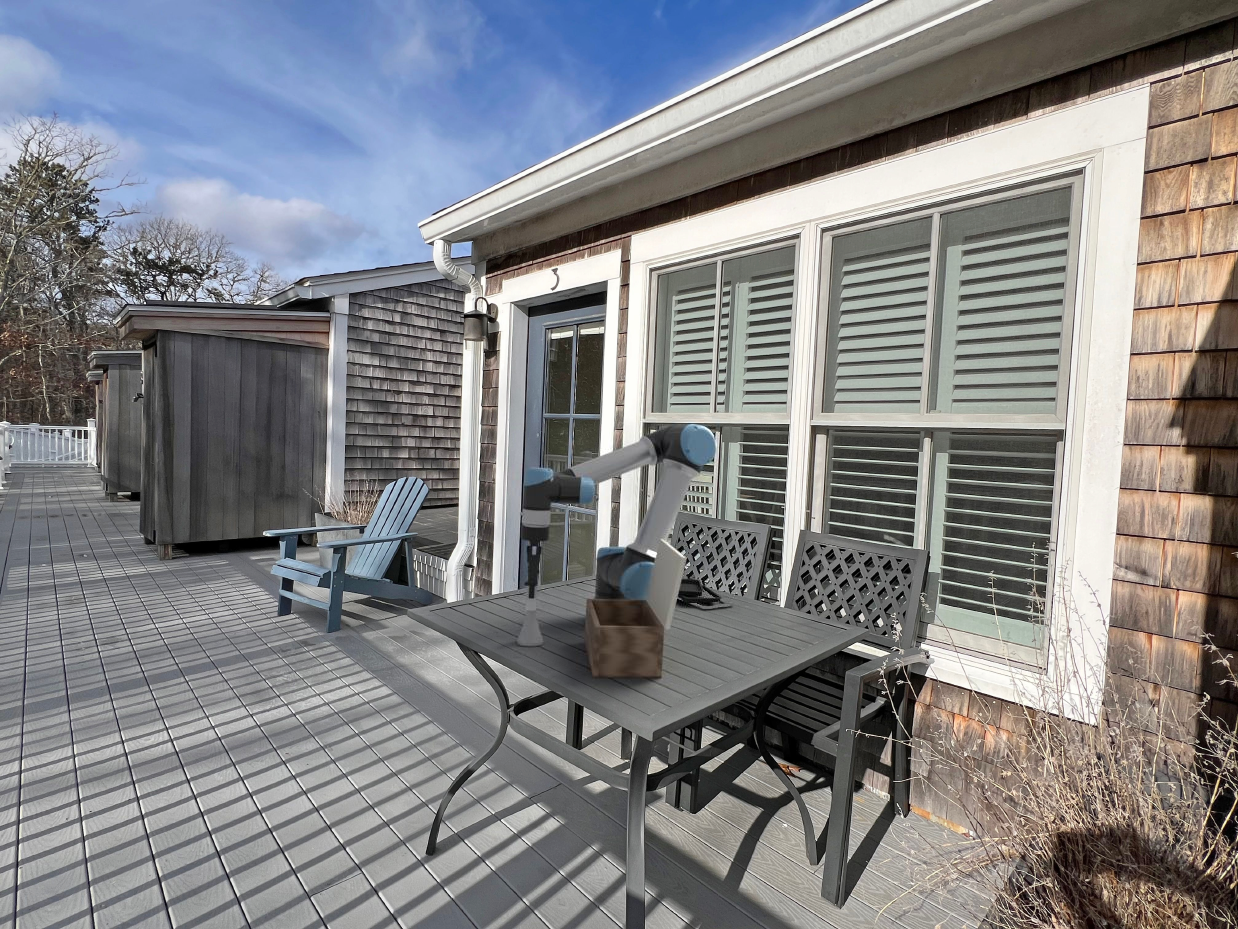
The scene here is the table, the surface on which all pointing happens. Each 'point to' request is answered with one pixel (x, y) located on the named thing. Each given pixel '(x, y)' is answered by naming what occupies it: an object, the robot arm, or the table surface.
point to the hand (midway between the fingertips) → (530, 603)
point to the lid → (665, 582)
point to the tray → (695, 592)
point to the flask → (530, 631)
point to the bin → (623, 639)
